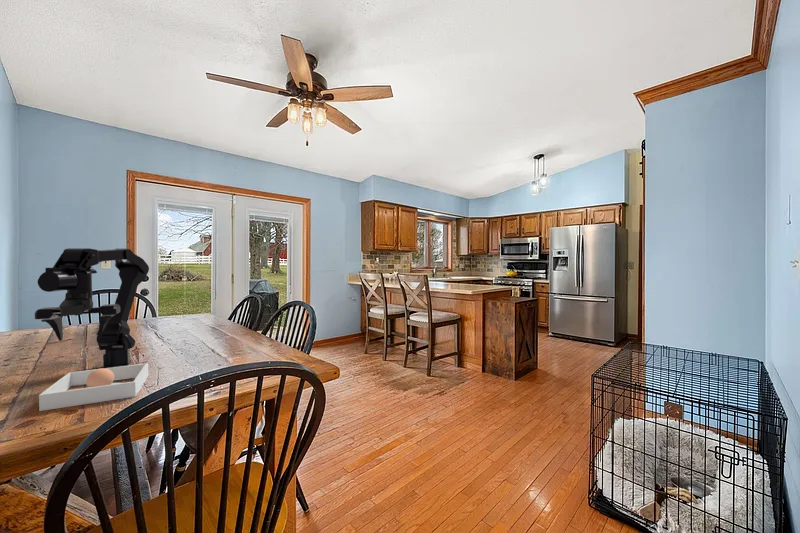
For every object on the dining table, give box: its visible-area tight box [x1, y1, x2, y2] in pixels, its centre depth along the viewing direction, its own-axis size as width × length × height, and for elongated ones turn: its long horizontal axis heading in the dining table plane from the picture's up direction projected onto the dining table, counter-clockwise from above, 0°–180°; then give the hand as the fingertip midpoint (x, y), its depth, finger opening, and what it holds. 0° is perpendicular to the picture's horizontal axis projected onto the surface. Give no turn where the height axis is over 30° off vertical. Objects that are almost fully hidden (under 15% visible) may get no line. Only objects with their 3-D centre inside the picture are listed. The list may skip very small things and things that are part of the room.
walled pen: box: [38, 362, 149, 412], centre depth 98 cm, size 19×19×4 cm
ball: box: [85, 367, 115, 388], centre depth 98 cm, size 6×6×6 cm
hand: (80, 338), depth 106 cm, fingers open, 9 cm apart
